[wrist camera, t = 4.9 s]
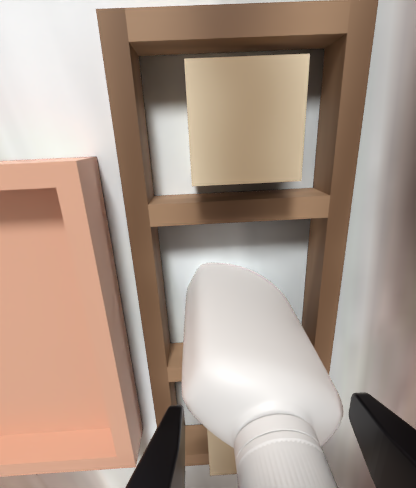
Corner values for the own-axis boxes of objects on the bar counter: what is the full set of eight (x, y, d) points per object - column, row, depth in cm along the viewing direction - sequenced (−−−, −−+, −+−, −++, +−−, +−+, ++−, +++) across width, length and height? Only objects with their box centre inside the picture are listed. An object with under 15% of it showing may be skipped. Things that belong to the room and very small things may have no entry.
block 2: (276, 77, 13) (310, 53, 9) (273, 169, 14) (301, 180, 11) (187, 81, 13) (184, 58, 9) (192, 173, 14) (192, 186, 11)
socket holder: (350, 19, 12) (378, -2, 10) (307, 427, 21) (318, 456, 19) (111, 28, 12) (95, 8, 10) (166, 437, 20) (162, 467, 19)
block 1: (266, 361, 19) (285, 418, 15) (265, 407, 20) (281, 470, 16) (204, 365, 18) (206, 424, 15) (207, 411, 20) (209, 475, 16)
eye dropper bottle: (232, 344, 18) (293, 698, 7) (175, 278, 16) (129, 606, 5) (293, 306, 17) (481, 636, 6) (241, 234, 15) (364, 501, 4)
